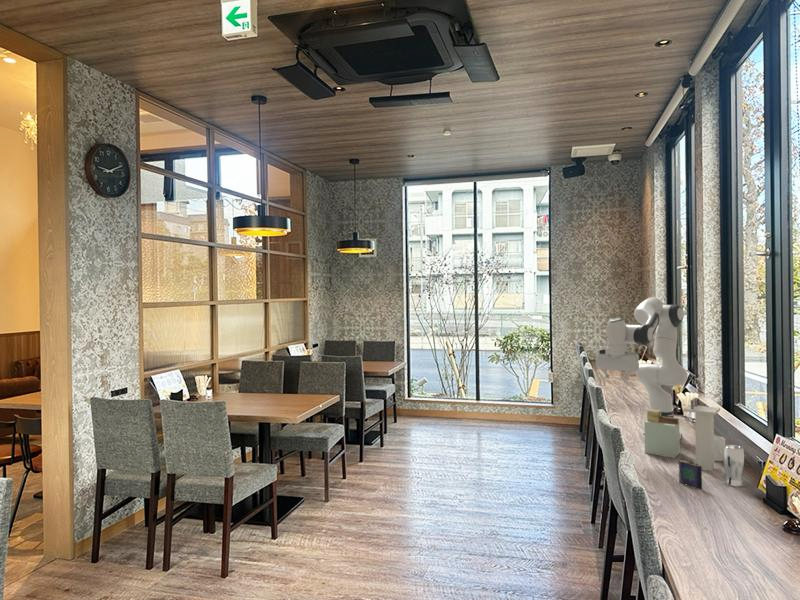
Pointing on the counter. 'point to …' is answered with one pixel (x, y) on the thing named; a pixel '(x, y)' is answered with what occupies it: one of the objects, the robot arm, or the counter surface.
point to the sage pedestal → (662, 439)
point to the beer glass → (733, 464)
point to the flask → (690, 473)
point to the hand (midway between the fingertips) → (617, 378)
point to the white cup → (718, 448)
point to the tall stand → (704, 433)
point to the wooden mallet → (660, 417)
